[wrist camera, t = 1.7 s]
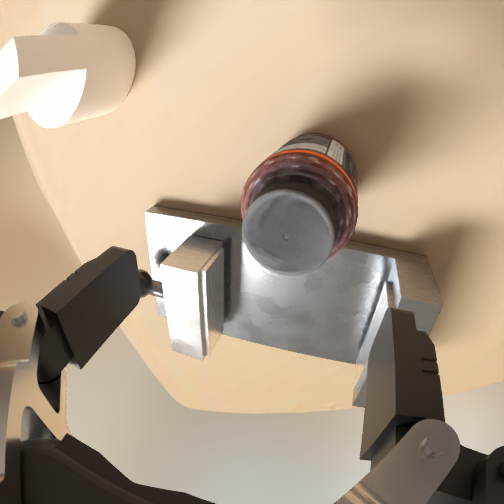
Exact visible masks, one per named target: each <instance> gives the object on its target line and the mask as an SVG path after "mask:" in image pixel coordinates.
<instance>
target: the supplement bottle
mask: <svg viewBox="0 0 504 504" xmlns="http://www.w3.org/2000/svg"><path fill="white" fill-rule="evenodd" d="M241 213H242V219H243V222H242V236H243V241H244V244H245V245H246V248H247V250H248V251H249V253H250V254H251V256H252V257H253V258H254V259H255V260H256V261H257V262H258V263H259V264H260V265H262V266H263V267H264V268H266V269H268V270H270V271H272V272H275V273H278V274H281V275H286V276H288V275H289V276H298V275H303V274H307V273H310V272H312V271H315V270H316V269H318V268H319V267H320V266H322V265H323V264H324V263H325V262H326V260H327V259H328V258H331V257H332V256H334V255H335V254H337V253H338V252H339V251H340V250H341V249H342V248H344V247H345V245H346V244H347V242H348V241H349V240H350V238H351V236H352V234H353V233H354V230H355V226H356V223H357V217H358V197H357V180H356V170H355V165H354V162H353V160H352V157H351V155H350V153H349V152H348V151H347V149H346V148H345V147H344V146H343V145H342V144H341V143H339V142H338V141H337V140H335V139H333V138H332V137H329V136H327V135H323V134H316V133H315V134H314V133H310V134H304V135H301V136H298V137H296V138H293V139H292V140H290V141H289V142H287V143H286V144H285V145H283V146H282V147H281V148H280V149H278V150H277V151H276V152H274V153H273V154H272V155H271V156H270V157H268V158H267V159H266V160H265V161H263V162H262V163H261V164H260V165H259V166H258V167H257V168H256V169H255V170H254V171H253V173H252V174H251V175H250V177H249V178H248V180H247V182H246V184H245V186H244V189H243V193H242V198H241Z"/></svg>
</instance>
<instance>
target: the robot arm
mask: <svg viewBox="0 0 504 504" xmlns="http://www.w3.org/2000/svg"><path fill="white" fill-rule="evenodd" d="M140 296H141V285H140V279H139V273H138V266H137V260H136V255H135V253H134V252H133V251H132V250H128V249H123V248H119V247H115V246H112V247H110V248H109V249H107V250H106V251H105V252H104V253H102V254H101V255H100V256H99V257H97V258H95V259H93V260H91V261H89V262H87V263H85V264H83V265H82V266H81V267H80V268H79V269H77V270H76V271H75V273H73V274H71V275H70V276H69V277H68V278H67V280H64V281H63V282H62V283H60V284H59V285H58V286H57V287H56V288H54V289H53V290H52V291H51V292H50V293H49V294H48V295H46V296H45V297H44V298H43V299H42V300H41V301H39V302H38V303H37V304H36V305H35V304H33V303H31V302H20V303H17V304H15V305H12V306H11V307H9V308H8V309H7V310H6V311H5V312H4V311H0V504H215V503H212V502H209V501H206V500H203V499H200V498H197V497H195V496H192V495H189V494H187V493H183V492H177V491H171V490H165V489H160V488H155V487H149V486H145V485H140V484H136V483H134V482H132V481H130V480H129V479H128V478H127V477H125V476H124V475H123V474H122V473H121V472H120V471H119V470H118V469H116V468H115V467H114V466H113V465H112V464H111V463H110V462H109V461H108V460H106V458H105V457H103V456H102V455H101V454H100V453H99V452H97V451H96V450H94V449H92V448H91V447H89V446H87V445H86V444H84V443H82V442H81V441H79V440H77V439H76V438H74V437H73V436H71V433H70V430H69V428H68V425H67V420H66V387H67V372H66V369H65V367H66V365H67V364H68V363H70V364H72V365H73V366H75V367H77V368H79V369H82V368H83V367H84V366H85V364H86V363H87V362H88V361H89V360H90V358H91V357H92V356H93V355H94V354H95V353H96V351H97V350H98V349H99V348H100V347H101V346H102V344H103V343H104V342H105V341H106V340H107V339H108V337H109V336H110V335H111V334H112V333H113V332H114V330H115V329H116V328H117V327H118V326H119V325H120V324H121V323H122V321H123V320H124V319H125V318H126V317H127V316H128V315H129V314H130V312H131V311H132V310H133V309H134V308H135V307H136V306H137V304H138V302H139V300H140ZM436 361H437V358H436V352H435V346H434V344H433V343H432V341H431V339H430V338H429V336H428V335H427V333H426V332H424V331H418V330H417V329H416V322H415V317H414V313H413V312H412V311H407V310H402V309H397V308H391V307H388V308H387V310H386V312H385V314H384V317H383V319H382V322H381V324H380V327H379V329H378V332H377V334H376V337H375V339H374V341H373V344H372V346H371V350H370V353H369V358H368V365H367V385H366V400H365V414H364V424H363V434H362V444H361V452H360V459H361V460H370V461H371V470H370V472H369V473H368V474H367V475H366V476H365V477H364V478H363V479H362V480H361V481H359V482H358V483H357V484H356V485H355V486H354V487H353V488H352V489H350V490H349V491H348V492H347V493H346V494H345V495H344V496H343V497H341V498H340V499H339V500H338V501H336V502H335V503H334V504H504V446H502V447H499V448H497V449H495V450H494V451H493V452H492V453H491V454H490V455H486V454H482V453H480V452H477V451H474V450H472V449H469V448H466V447H464V446H462V445H460V442H459V438H458V436H457V434H456V432H455V431H454V430H453V429H452V427H450V426H449V425H448V424H446V423H445V417H444V408H443V399H442V391H441V383H440V376H439V375H438V373H439V370H438V364H437V363H436Z"/></svg>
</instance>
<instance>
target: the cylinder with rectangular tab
mask: <svg viewBox="0 0 504 504" xmlns="http://www.w3.org/2000/svg"><path fill="white" fill-rule="evenodd" d="M135 67H136V59H135V50H134V48H133V45H132V43H131V40H130V39H129V37H128V36H127V35H126V33H125V32H124V31H122V30H120V29H119V28H117V27H114V26H108V25H98V24H84V23H61V22H59V23H55V24H52V25H50V26H48V27H47V28H45V29H44V30H42V31H41V32H40V33H39V35H33V36H19V37H12V38H11V40H10V41H9V42H8V43H7V44H6V45H5V46H4V47H3V49H2V50H1V51H0V119H2V118H6V117H9V116H12V115H16V114H19V113H23V112H27V111H28V113H29V114H30V116H31V118H32V119H33V120H34V121H35V122H36V123H37V124H38V125H40V126H42V127H44V128H56V127H59V126H63V125H66V124H70V123H74V122H77V121H81V120H85V119H89V118H93V117H97V116H101V115H104V114H108V113H110V112H111V111H113V110H114V109H116V108H117V107H118V106H119V105H120V104H121V103H122V102H123V101H124V99H125V98H126V96H127V94H128V92H129V91H130V89H131V86H132V83H133V79H134V76H135Z"/></svg>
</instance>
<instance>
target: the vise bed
mask: <svg viewBox="0 0 504 504" xmlns="http://www.w3.org/2000/svg"><path fill="white" fill-rule="evenodd" d="M145 219H146V228H147V237H148V246H149V254H150V262H151V269H152V276H153V280H157V281H161V282H162V277H161V269H160V264H161V263H162V262H163V261H164V260H165V259H166V258H167V257H168V256H169V255H170V254H171V253H172V252H173V251H174V250H175V249H176V248H177V247H178V246H179V245H180V244H181V243H182V242H183V241H184V240H185V239H186V238H187V237H188V236H189V235H191V236H197V237H202V238H207V239H212V240H217V241H222V242H223V248H224V331H223V333H222V334H224V335H228V336H231V337H235V338H239V339H243V340H247V341H251V342H255V343H259V344H263V345H267V346H271V347H275V348H280V349H284V350H288V351H293V352H297V353H302V354H306V355H311V356H316V357H321V358H326V359H331V360H336V361H341V362H346V363H352V364H356V366H355V377H354V387H353V391H354V393H353V402H352V406H358V407H364V408H365V400H366V385H367V365H368V358H369V353H370V350H371V346H372V344H373V341H374V339H375V337H376V334H377V332H378V329H379V327H380V324H381V322H382V319H383V317H384V314H385V312H386V310H387V308H388V307H391V308H397V309H402V310H407V311H412V312H413V313H414V317H415V322H416V329H417V330H418V331H424V332H426V333H427V335H429V333H430V331H431V329H432V327H433V325H434V323H435V321H436V318H437V316H438V314H439V312H440V310H441V308H442V302H441V299H440V295H439V292H438V289H437V286H436V282H435V279H434V276H433V273H432V270H431V267H430V264H429V261H428V258H427V256H424V255H419V254H414V253H410V252H405V251H400V250H395V249H391V248H386V247H381V246H376V245H371V244H366V243H361V242H356V241H351V240H349V241H348V242H347V244H346V245H345V247H344V248H342V249H341V250H340V251H339V252H338V253H337V254H335V255H334V256H332V257H331V258H328V259H327V260H326V262H325V263H324V264H323V265H322V266H320V267H319V268H318V269H316V270H315V271H312V272H310V273H307V274H303V275H298V276H289V275H288V276H286V275H281V274H278V273H275V272H272V271H270V270H268V269H266V268H264V267H263V266H262V265H260V264H259V263H258V262H257V261H256V260H255V259H254V258H253V257H252V256H251V254H250V253H249V251H248V250H247V248H246V245H245V244H244V241H243V236H242V222H243V220H238V219H232V218H226V217H220V216H214V215H208V214H202V213H196V212H190V211H184V210H177V209H171V208H165V207H158V206H153V207H151V208H150V209H149V210H147V211H146V212H145ZM156 302H157V309H158V314H159V316H162V317H165V318H167V314H166V307H165V300H164V299H163V298H160V297H156Z"/></svg>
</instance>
